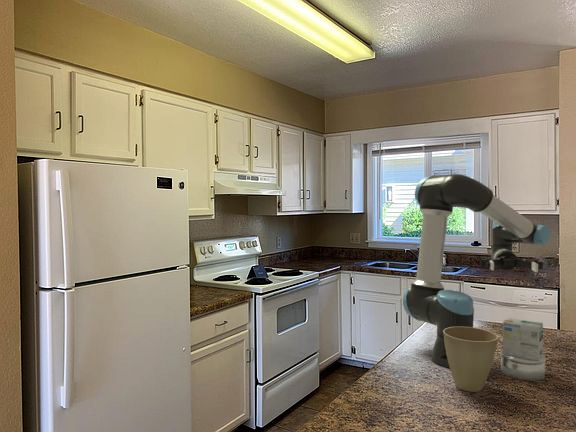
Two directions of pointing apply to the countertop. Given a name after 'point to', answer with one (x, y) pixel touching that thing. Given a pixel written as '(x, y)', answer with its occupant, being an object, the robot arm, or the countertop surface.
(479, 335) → the plant pot
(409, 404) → the countertop surface
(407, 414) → the countertop surface
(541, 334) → the light bulb box
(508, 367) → the cookie tin
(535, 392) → the countertop surface
